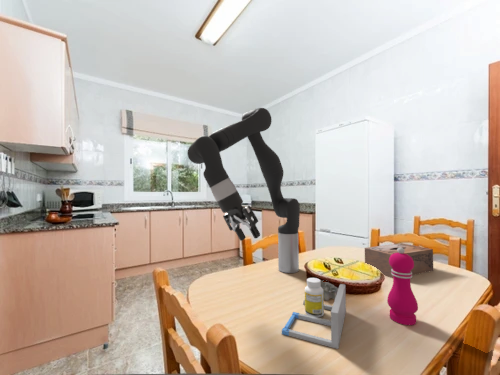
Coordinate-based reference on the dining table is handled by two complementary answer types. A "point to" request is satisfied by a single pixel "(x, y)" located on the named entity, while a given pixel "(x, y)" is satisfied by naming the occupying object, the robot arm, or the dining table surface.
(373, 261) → the tissue box cover
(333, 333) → the grey panel rail frame
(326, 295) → the egg carton
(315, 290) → the supplement bottle
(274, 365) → the dining table surface
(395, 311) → the pepper mill
